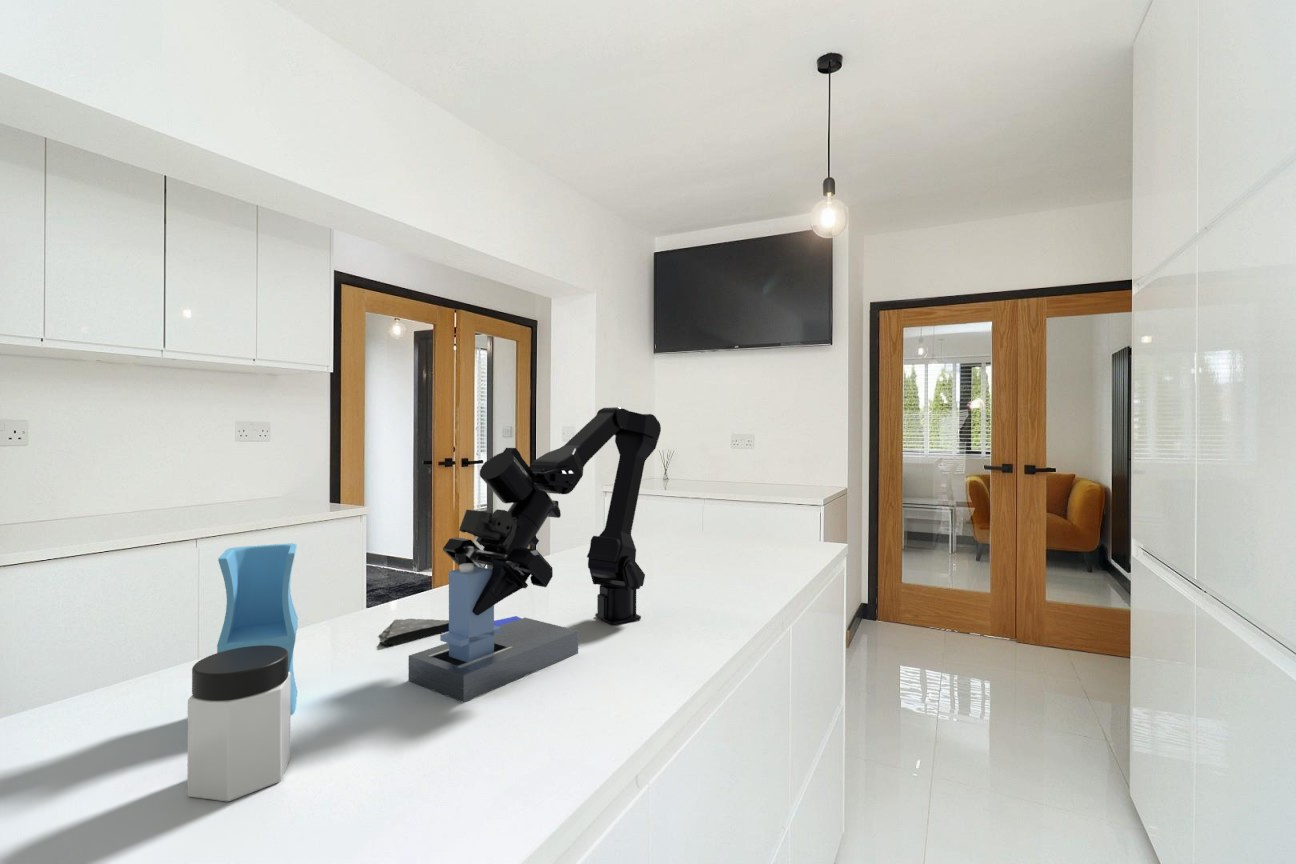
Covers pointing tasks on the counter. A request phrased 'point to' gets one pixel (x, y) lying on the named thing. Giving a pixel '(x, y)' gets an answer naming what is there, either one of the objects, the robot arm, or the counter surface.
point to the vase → (259, 600)
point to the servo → (469, 615)
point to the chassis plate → (494, 660)
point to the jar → (238, 722)
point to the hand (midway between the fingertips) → (463, 610)
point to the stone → (412, 630)
